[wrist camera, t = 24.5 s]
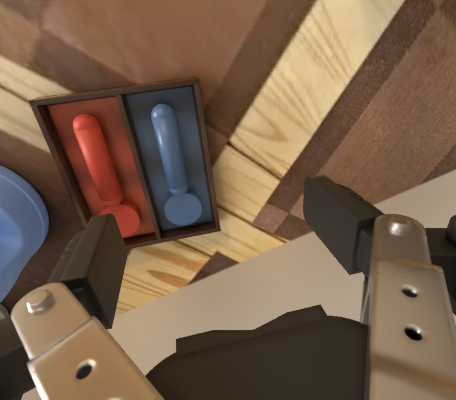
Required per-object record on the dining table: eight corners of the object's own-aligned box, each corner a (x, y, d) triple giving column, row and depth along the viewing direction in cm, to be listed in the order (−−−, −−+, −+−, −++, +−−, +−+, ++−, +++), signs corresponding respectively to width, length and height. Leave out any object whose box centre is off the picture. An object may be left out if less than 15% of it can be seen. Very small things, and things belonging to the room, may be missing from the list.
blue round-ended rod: (139, 105, 32) (136, 109, 30) (182, 99, 33) (183, 102, 30) (168, 222, 40) (168, 232, 38) (203, 215, 41) (205, 225, 38)
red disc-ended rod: (62, 115, 31) (53, 120, 29) (108, 108, 32) (103, 113, 29) (108, 233, 39) (104, 244, 37) (144, 226, 40) (143, 237, 37)
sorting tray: (38, 97, 31) (27, 100, 28) (196, 76, 33) (198, 78, 30) (100, 244, 41) (96, 255, 39) (218, 221, 43) (220, 230, 41)
